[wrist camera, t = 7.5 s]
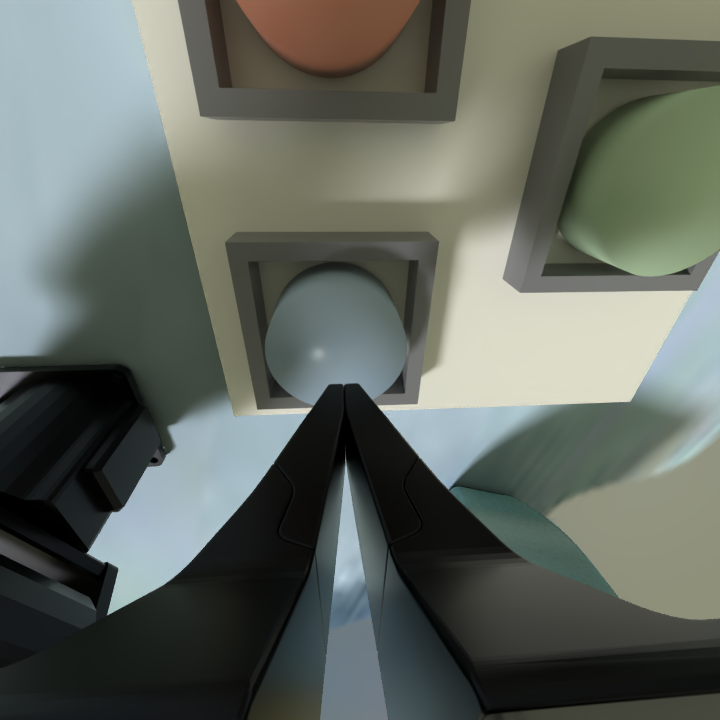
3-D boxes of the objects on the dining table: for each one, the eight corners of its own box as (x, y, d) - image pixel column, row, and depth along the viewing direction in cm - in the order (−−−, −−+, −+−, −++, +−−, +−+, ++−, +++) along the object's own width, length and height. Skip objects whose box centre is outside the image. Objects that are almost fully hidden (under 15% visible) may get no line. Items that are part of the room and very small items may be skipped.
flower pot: (555, 482, 23) (662, 645, 16) (486, 551, 28) (545, 705, 20) (443, 457, 21) (504, 632, 14) (387, 536, 25) (410, 702, 18)
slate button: (282, 372, 15) (274, 410, 13) (267, 262, 12) (254, 287, 10) (391, 369, 15) (401, 406, 13) (400, 261, 13) (413, 285, 10)
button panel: (241, 396, 18) (225, 438, 15) (67, -389, 7) (-89, -702, 4) (610, 384, 19) (653, 421, 16) (950, -293, 8) (1230, -491, 6)
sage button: (538, 255, 13) (578, 277, 11) (584, 93, 10) (650, 80, 8) (658, 254, 13) (721, 275, 11) (733, 97, 10) (833, 85, 8)
